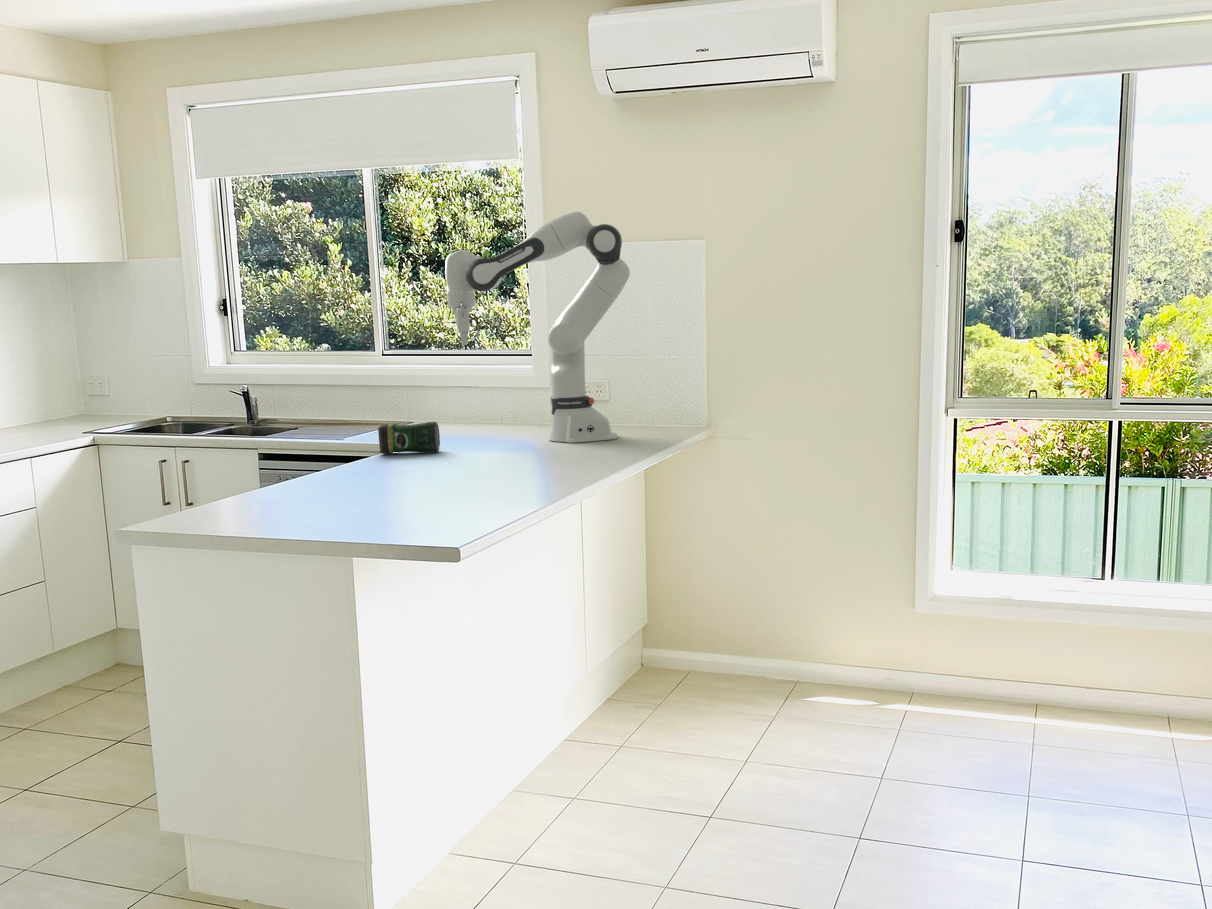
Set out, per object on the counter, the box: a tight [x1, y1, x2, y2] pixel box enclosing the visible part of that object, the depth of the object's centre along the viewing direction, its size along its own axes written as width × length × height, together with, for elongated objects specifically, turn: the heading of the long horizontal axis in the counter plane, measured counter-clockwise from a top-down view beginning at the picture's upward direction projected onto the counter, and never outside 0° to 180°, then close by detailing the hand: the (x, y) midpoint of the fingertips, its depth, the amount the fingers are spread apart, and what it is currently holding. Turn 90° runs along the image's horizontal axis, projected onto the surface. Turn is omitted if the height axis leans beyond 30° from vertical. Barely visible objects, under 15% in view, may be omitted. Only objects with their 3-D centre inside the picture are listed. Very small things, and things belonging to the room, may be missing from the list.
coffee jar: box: [377, 421, 441, 455], centre depth 342 cm, size 10×8×19 cm
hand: (464, 344), depth 355 cm, fingers closed
